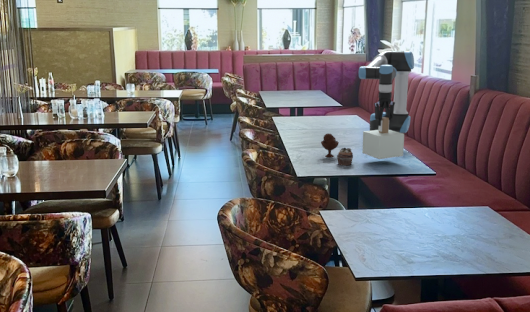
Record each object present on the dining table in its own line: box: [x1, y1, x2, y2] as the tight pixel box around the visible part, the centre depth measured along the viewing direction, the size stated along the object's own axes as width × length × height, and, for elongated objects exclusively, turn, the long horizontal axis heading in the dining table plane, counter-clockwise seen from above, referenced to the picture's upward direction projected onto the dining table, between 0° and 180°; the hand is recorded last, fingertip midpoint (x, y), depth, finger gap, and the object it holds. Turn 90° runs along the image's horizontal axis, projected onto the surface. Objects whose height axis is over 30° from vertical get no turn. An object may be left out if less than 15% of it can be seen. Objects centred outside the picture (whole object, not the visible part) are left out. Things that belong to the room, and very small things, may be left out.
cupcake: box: [336, 147, 354, 167], centre depth 326 cm, size 10×10×10 cm
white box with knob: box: [362, 117, 405, 160], centre depth 326 cm, size 17×17×22 cm
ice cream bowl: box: [320, 133, 339, 158], centre depth 345 cm, size 11×11×15 cm
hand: (383, 130), depth 325 cm, fingers closed on white box with knob, 4 cm apart
